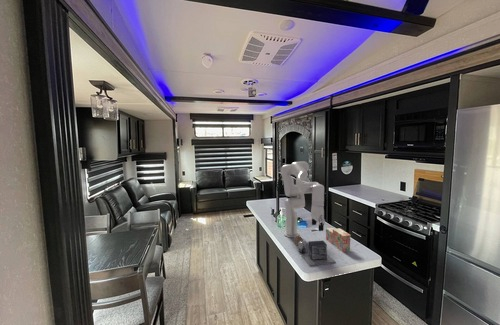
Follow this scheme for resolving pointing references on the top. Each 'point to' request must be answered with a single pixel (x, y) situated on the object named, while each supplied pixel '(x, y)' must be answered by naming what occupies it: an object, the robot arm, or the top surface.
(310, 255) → the small box
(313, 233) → the top surface
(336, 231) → the stack of blocks
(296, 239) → the walnut block
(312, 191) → the robot arm
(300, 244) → the metallic grey egg
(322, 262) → the slate board
